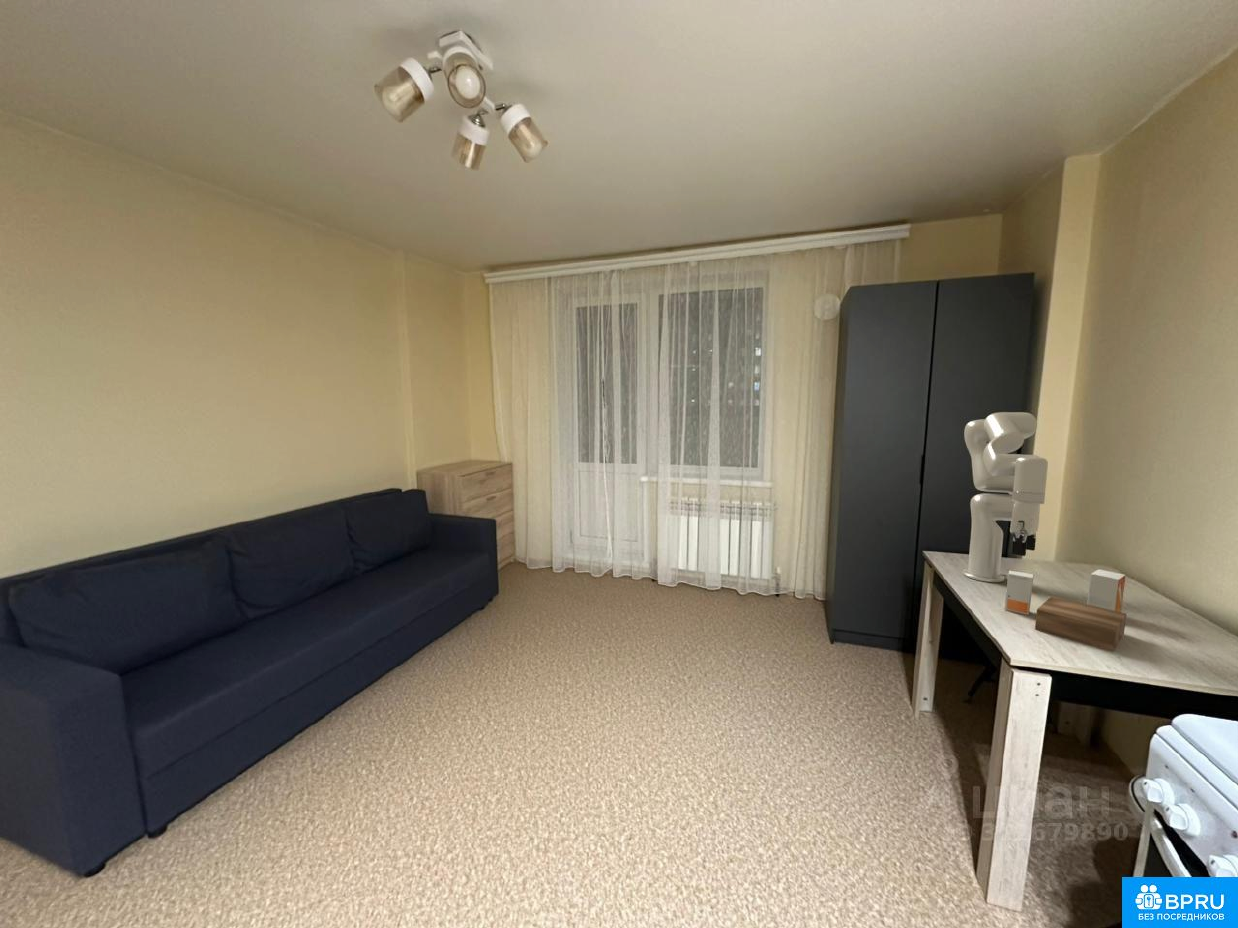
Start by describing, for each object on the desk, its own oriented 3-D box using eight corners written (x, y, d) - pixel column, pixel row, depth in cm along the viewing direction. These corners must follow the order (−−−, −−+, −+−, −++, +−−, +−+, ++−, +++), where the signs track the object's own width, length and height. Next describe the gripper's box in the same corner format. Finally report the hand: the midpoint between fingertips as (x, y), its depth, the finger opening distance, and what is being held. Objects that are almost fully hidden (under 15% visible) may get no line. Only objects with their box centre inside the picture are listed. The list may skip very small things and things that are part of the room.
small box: (1114, 621, 144) (1119, 579, 143) (1085, 614, 150) (1089, 573, 148) (1121, 615, 149) (1126, 574, 147) (1093, 608, 154) (1097, 568, 153)
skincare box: (1004, 610, 153) (1007, 573, 152) (1005, 606, 156) (1008, 569, 155) (1029, 615, 149) (1033, 577, 147) (1030, 611, 152) (1033, 574, 151)
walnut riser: (1049, 614, 149) (1051, 596, 149) (1123, 634, 137) (1126, 613, 136) (1034, 629, 140) (1036, 609, 139) (1113, 651, 127) (1115, 629, 126)
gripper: (1021, 493, 156) (1016, 545, 158) (1004, 498, 146) (999, 554, 148) (1051, 496, 150) (1046, 550, 152) (1036, 502, 140) (1030, 560, 142)
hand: (1023, 552), depth 150 cm, fingers open, 9 cm apart
